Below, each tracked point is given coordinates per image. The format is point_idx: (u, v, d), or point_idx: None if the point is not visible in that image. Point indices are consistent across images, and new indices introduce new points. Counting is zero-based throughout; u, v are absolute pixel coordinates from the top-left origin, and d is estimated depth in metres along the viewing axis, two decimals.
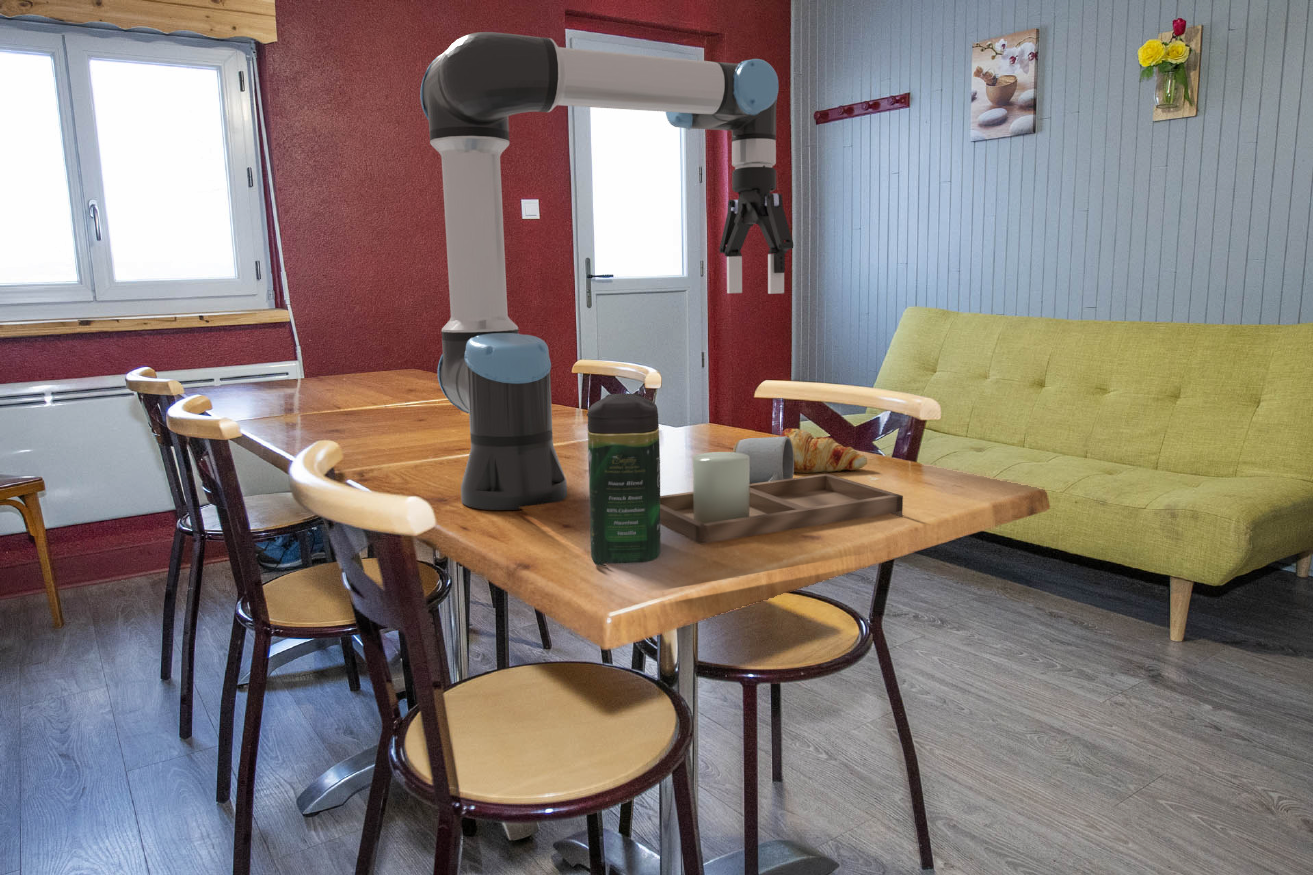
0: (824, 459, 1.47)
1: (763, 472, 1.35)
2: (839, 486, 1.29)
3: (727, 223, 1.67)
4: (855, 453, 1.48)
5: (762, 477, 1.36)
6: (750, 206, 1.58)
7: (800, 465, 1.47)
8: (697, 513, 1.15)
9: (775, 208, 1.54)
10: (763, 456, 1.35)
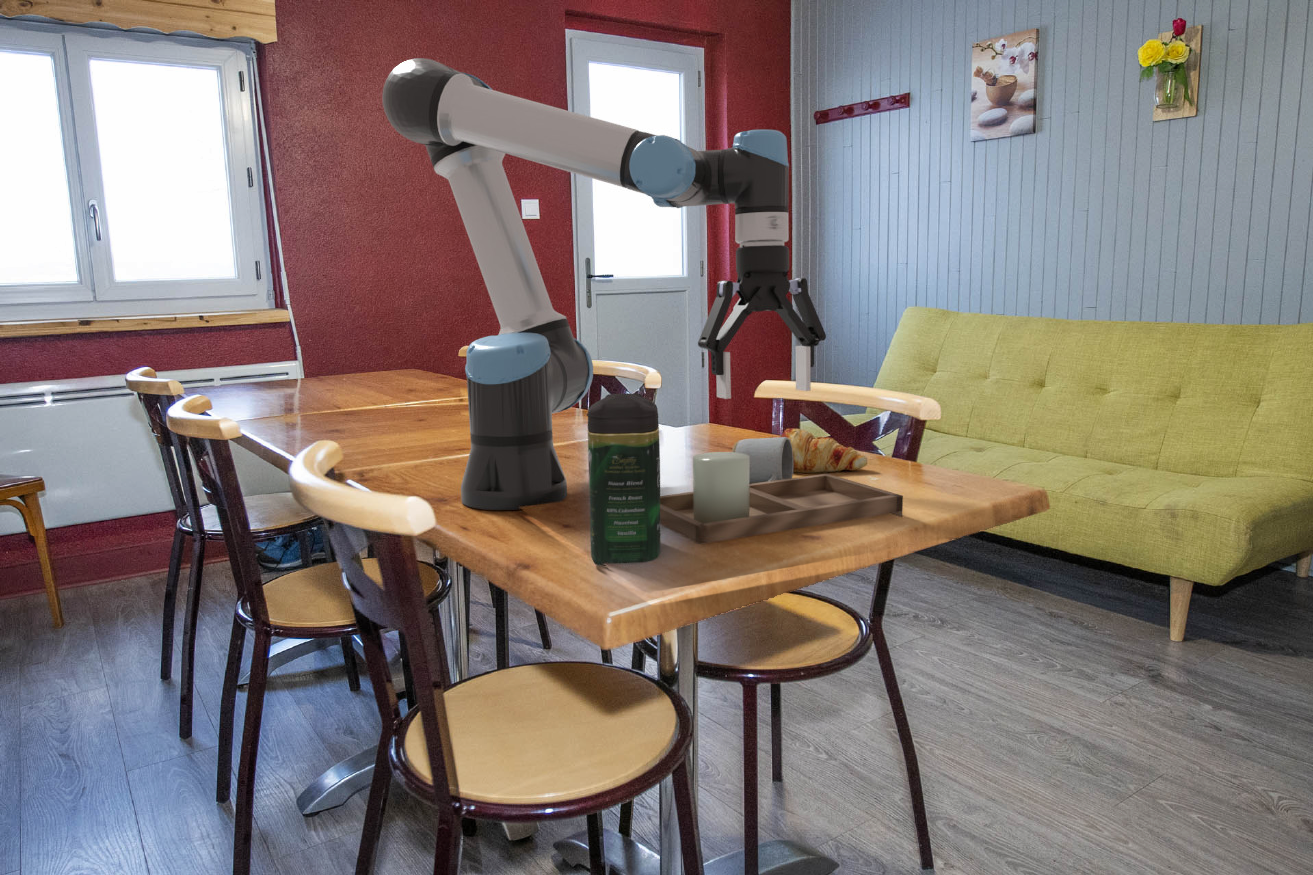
0: (824, 459, 1.47)
1: (762, 473, 1.35)
2: (839, 486, 1.29)
3: None
4: (856, 453, 1.48)
5: (761, 478, 1.35)
6: None
7: (800, 465, 1.47)
8: (697, 513, 1.15)
9: (718, 299, 1.31)
10: (762, 457, 1.35)
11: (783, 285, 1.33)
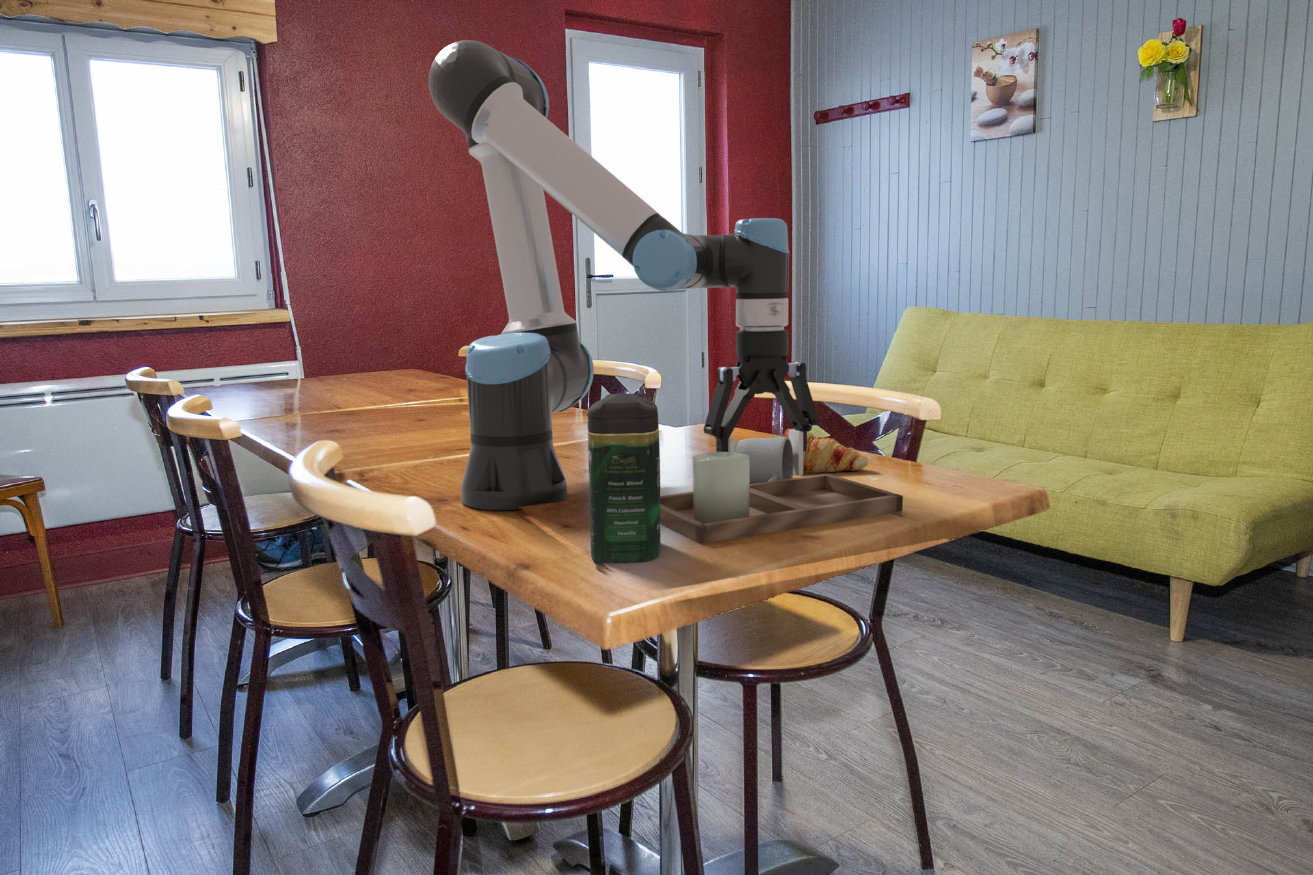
0: (824, 459, 1.47)
1: (762, 473, 1.34)
2: (839, 486, 1.29)
3: None
4: (856, 454, 1.48)
5: (761, 478, 1.35)
6: None
7: None
8: (697, 513, 1.15)
9: (719, 385, 1.33)
10: (762, 456, 1.34)
11: (782, 367, 1.35)
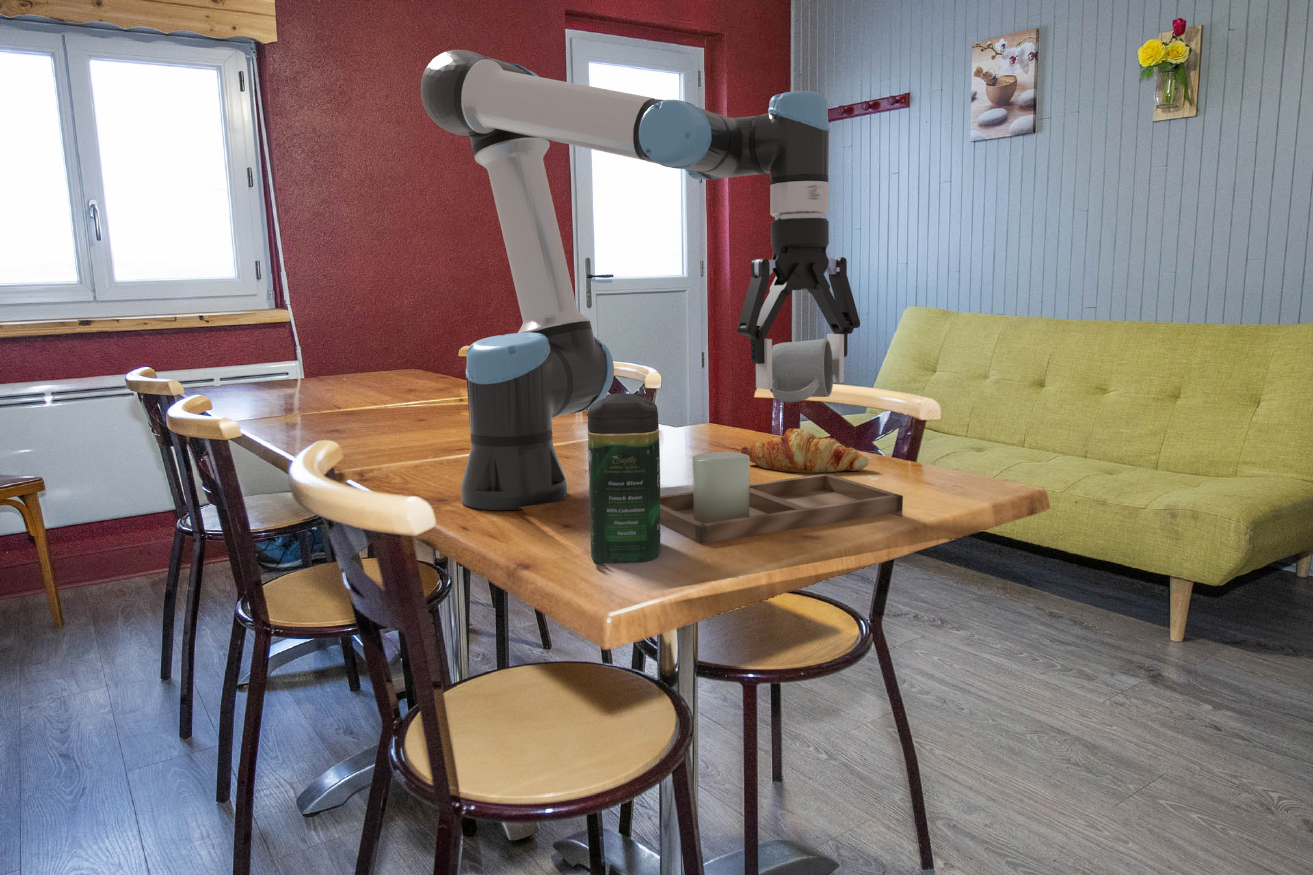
0: (824, 459, 1.47)
1: (802, 377, 1.22)
2: (839, 486, 1.29)
3: None
4: (856, 454, 1.48)
5: (801, 383, 1.22)
6: None
7: (801, 465, 1.47)
8: (697, 513, 1.15)
9: (754, 279, 1.20)
10: (802, 359, 1.22)
11: (822, 261, 1.23)
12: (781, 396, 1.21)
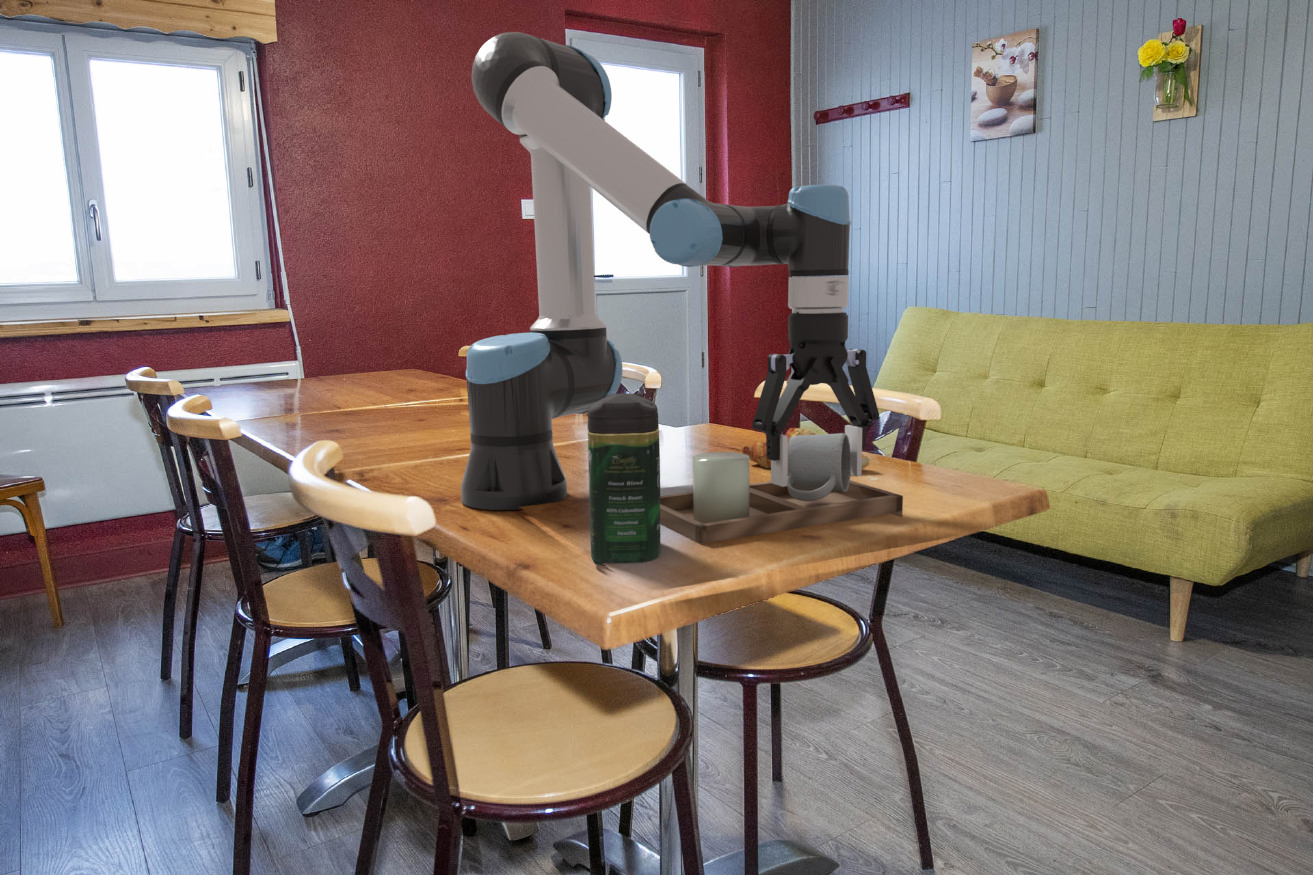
0: None
1: (819, 474, 1.19)
2: None
3: None
4: None
5: (817, 479, 1.19)
6: None
7: None
8: (697, 513, 1.15)
9: (770, 375, 1.17)
10: (819, 455, 1.19)
11: (840, 355, 1.20)
12: (796, 495, 1.18)
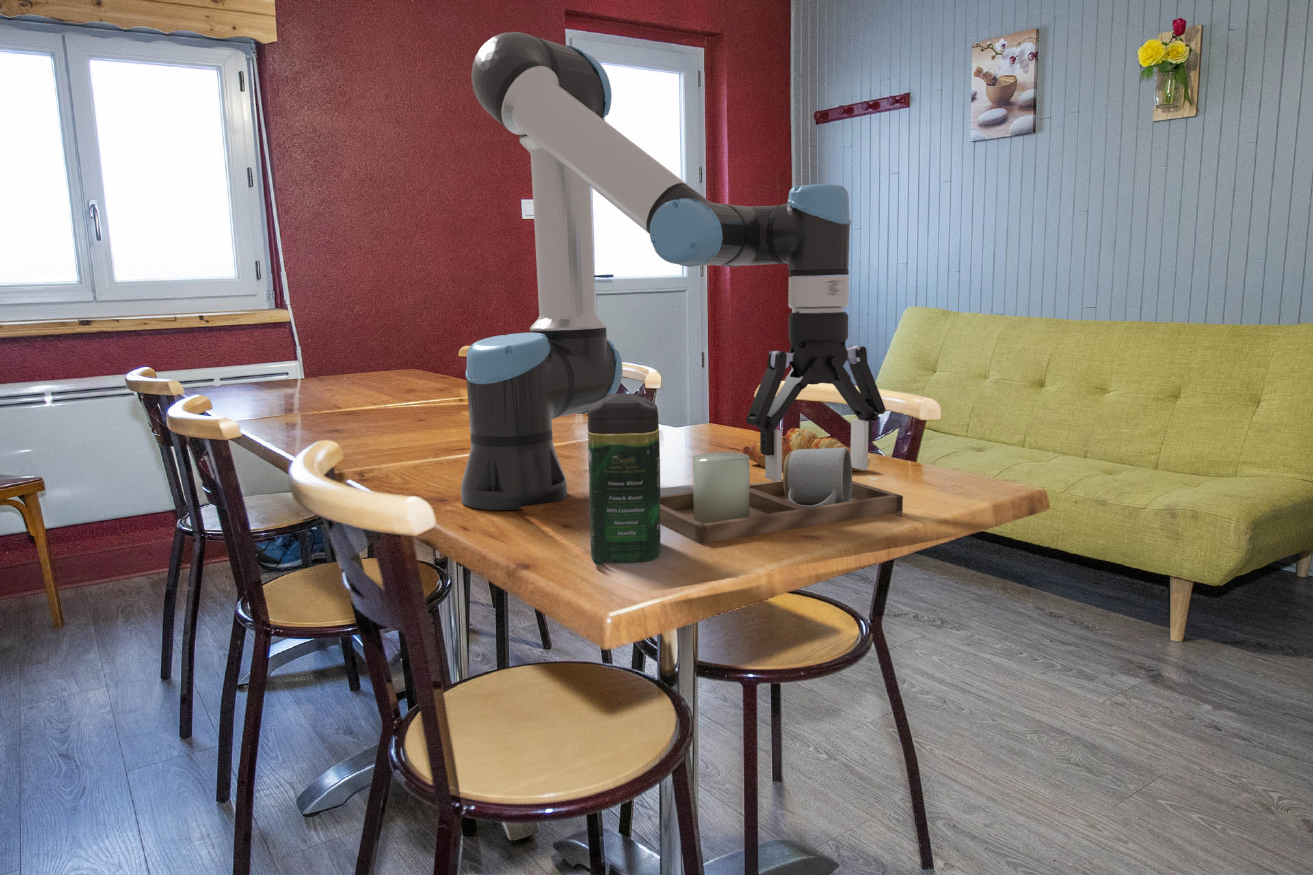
0: None
1: (820, 488, 1.19)
2: None
3: None
4: None
5: (819, 494, 1.20)
6: None
7: None
8: (697, 513, 1.15)
9: (769, 371, 1.17)
10: (820, 470, 1.19)
11: (841, 355, 1.20)
12: None
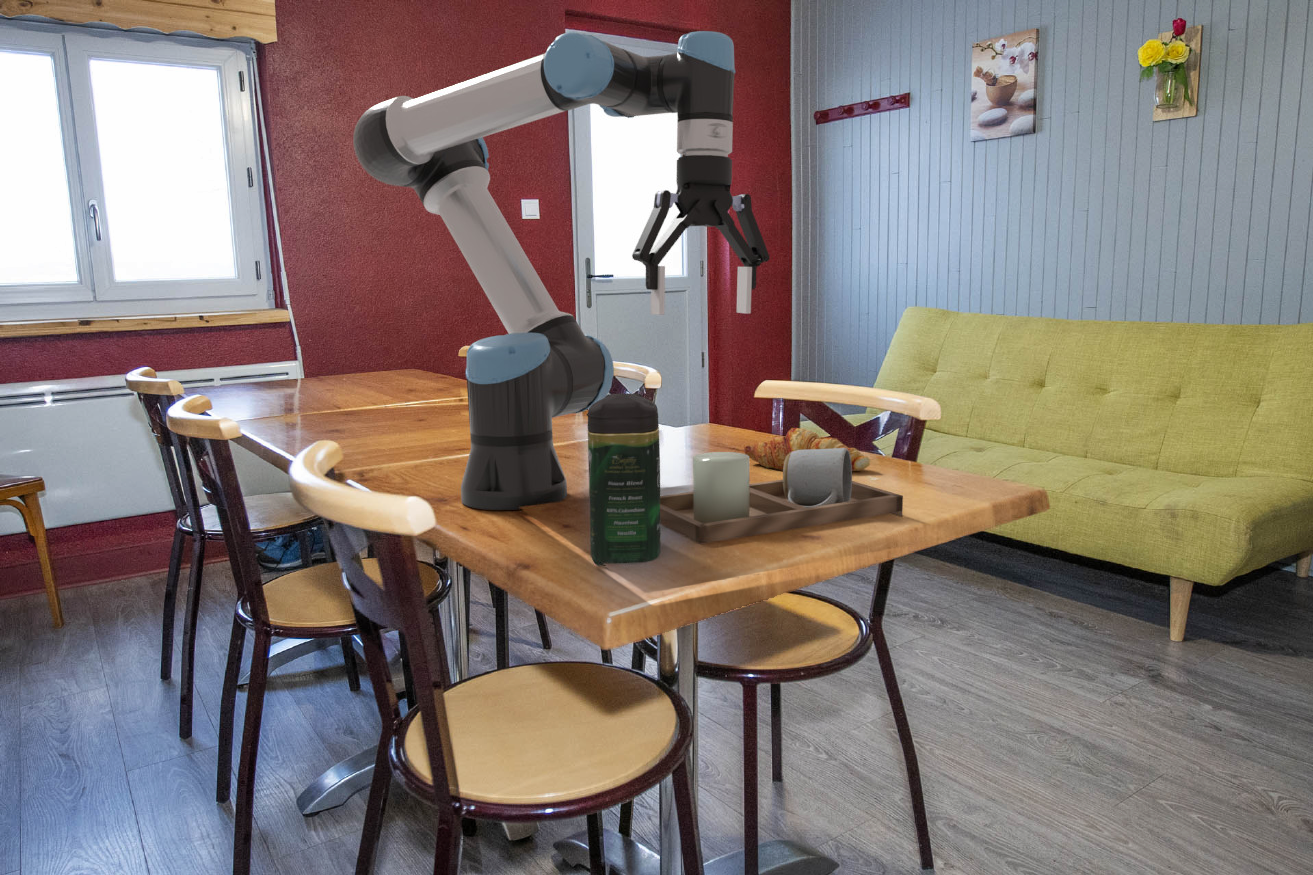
0: None
1: (820, 489, 1.19)
2: None
3: None
4: (858, 454, 1.48)
5: (818, 494, 1.19)
6: None
7: None
8: (697, 513, 1.15)
9: (655, 209, 1.25)
10: (820, 470, 1.19)
11: (725, 200, 1.28)
12: None
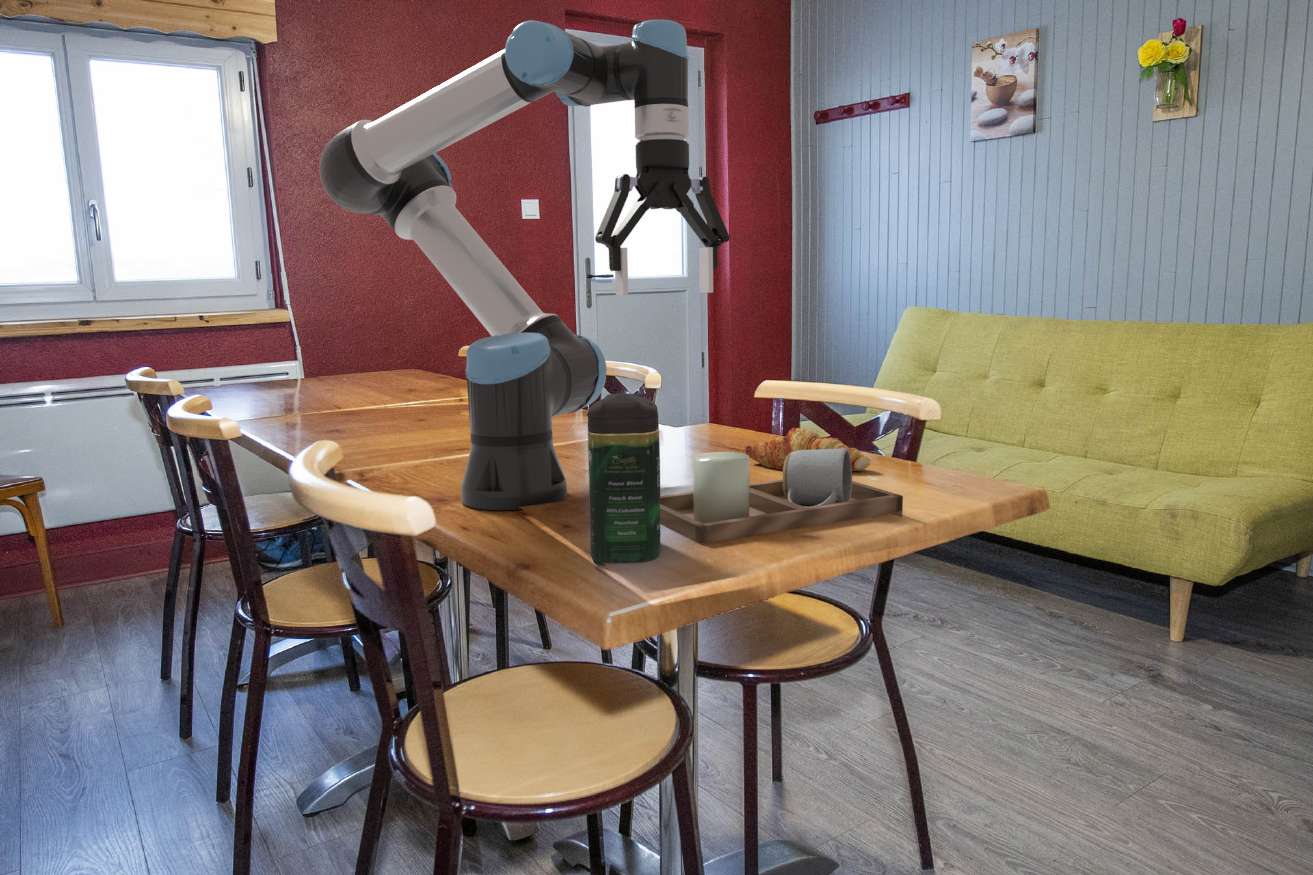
0: None
1: (820, 489, 1.19)
2: None
3: None
4: (858, 454, 1.48)
5: (818, 495, 1.19)
6: None
7: None
8: (697, 513, 1.15)
9: (615, 193, 1.29)
10: (820, 471, 1.19)
11: (684, 182, 1.32)
12: None
